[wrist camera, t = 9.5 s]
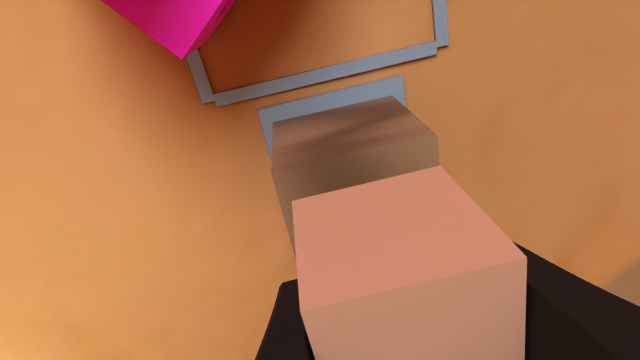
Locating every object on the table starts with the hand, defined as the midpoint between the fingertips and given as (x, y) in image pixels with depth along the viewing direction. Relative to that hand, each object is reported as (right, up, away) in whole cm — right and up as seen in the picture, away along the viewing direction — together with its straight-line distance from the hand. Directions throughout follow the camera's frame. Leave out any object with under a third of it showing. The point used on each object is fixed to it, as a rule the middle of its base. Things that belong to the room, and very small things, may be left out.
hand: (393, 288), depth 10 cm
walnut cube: (-1, +3, +7) cm, 8 cm away
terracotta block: (0, +1, +1) cm, 2 cm away
